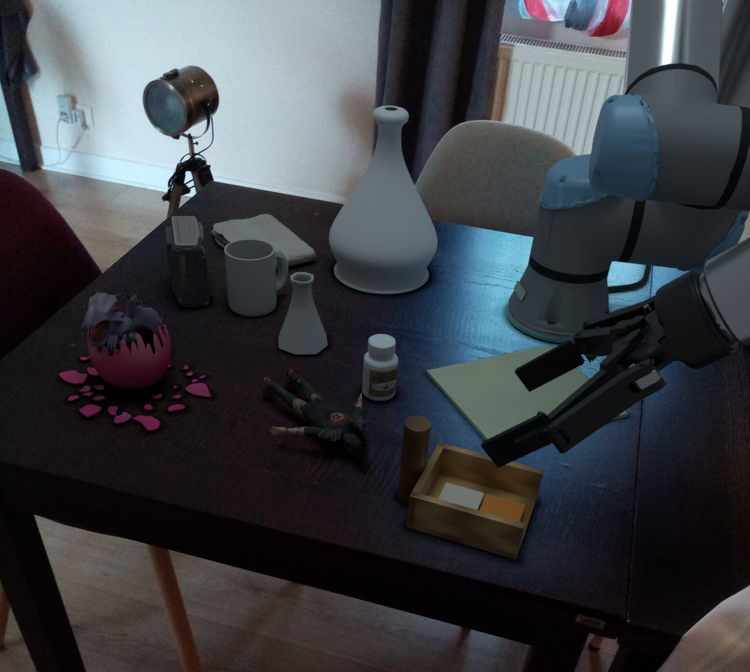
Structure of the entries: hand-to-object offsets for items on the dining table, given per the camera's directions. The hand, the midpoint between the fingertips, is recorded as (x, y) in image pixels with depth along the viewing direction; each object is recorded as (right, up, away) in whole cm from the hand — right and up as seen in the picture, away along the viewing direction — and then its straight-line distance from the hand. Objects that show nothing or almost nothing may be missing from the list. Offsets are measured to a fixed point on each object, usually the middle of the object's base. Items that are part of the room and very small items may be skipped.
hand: (507, 415), depth 76 cm
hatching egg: (-44, +6, +25) cm, 51 cm away
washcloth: (-32, +34, +57) cm, 73 cm away
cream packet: (-4, -9, +9) cm, 13 cm away
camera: (-41, +24, +44) cm, 65 cm away
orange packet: (+1, -10, +8) cm, 13 cm away
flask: (-23, +14, +35) cm, 44 cm away
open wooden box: (-3, -9, +10) cm, 14 cm away
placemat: (+7, +6, +28) cm, 29 cm away
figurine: (-19, 0, +20) cm, 28 cm away
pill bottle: (-12, +6, +26) cm, 30 cm away
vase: (-12, +29, +53) cm, 61 cm away
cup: (-30, +21, +43) cm, 56 cm away
